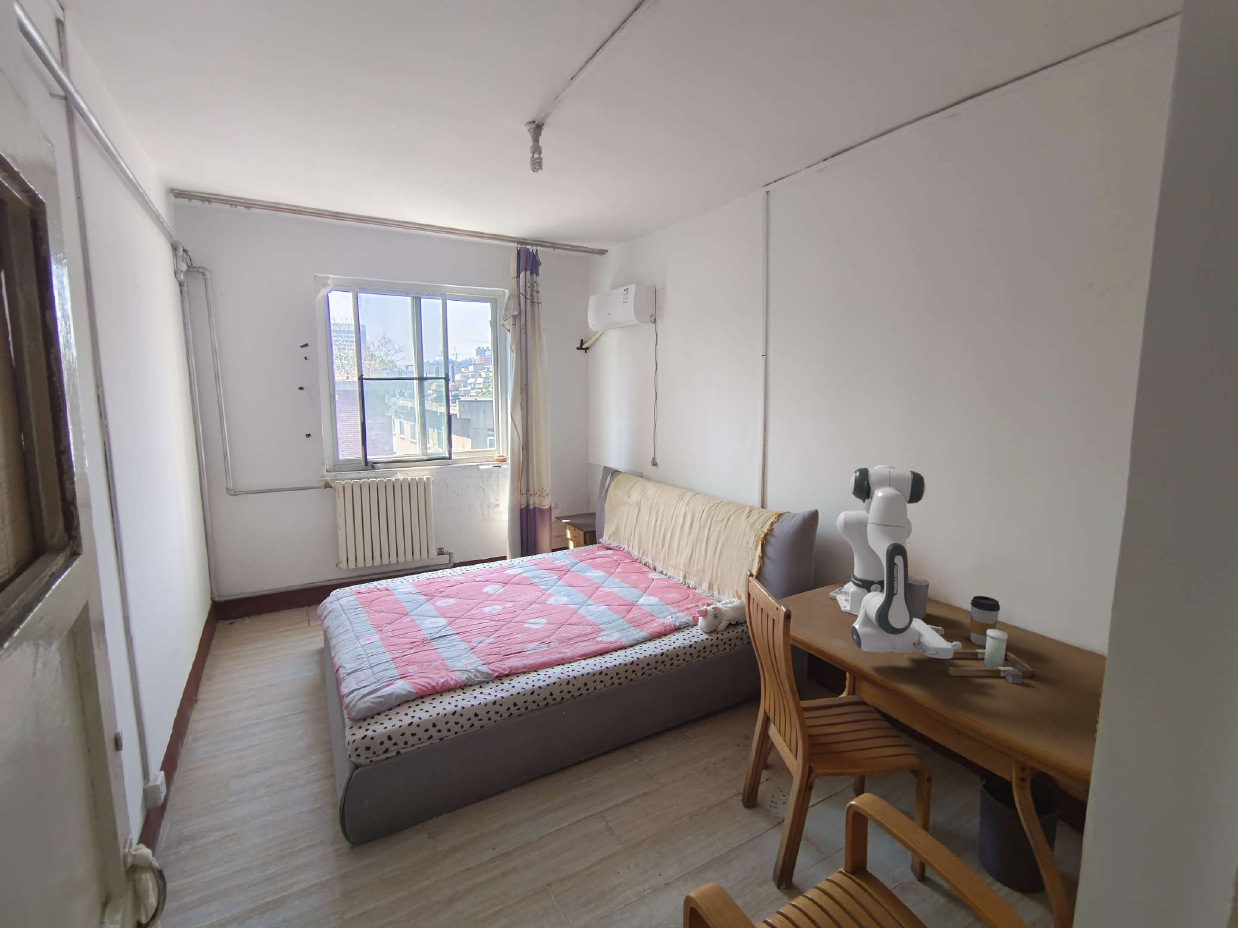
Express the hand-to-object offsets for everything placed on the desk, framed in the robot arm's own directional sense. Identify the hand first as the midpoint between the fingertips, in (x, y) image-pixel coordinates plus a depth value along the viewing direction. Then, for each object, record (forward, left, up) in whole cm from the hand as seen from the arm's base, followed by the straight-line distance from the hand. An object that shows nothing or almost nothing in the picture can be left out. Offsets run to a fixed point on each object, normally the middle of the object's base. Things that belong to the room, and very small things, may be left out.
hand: (951, 637), depth 175 cm
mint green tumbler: (0, +14, -9) cm, 16 cm away
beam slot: (+2, +9, -9) cm, 13 cm away
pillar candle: (-39, +8, -9) cm, 40 cm away
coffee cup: (-16, +20, -9) cm, 27 cm away
